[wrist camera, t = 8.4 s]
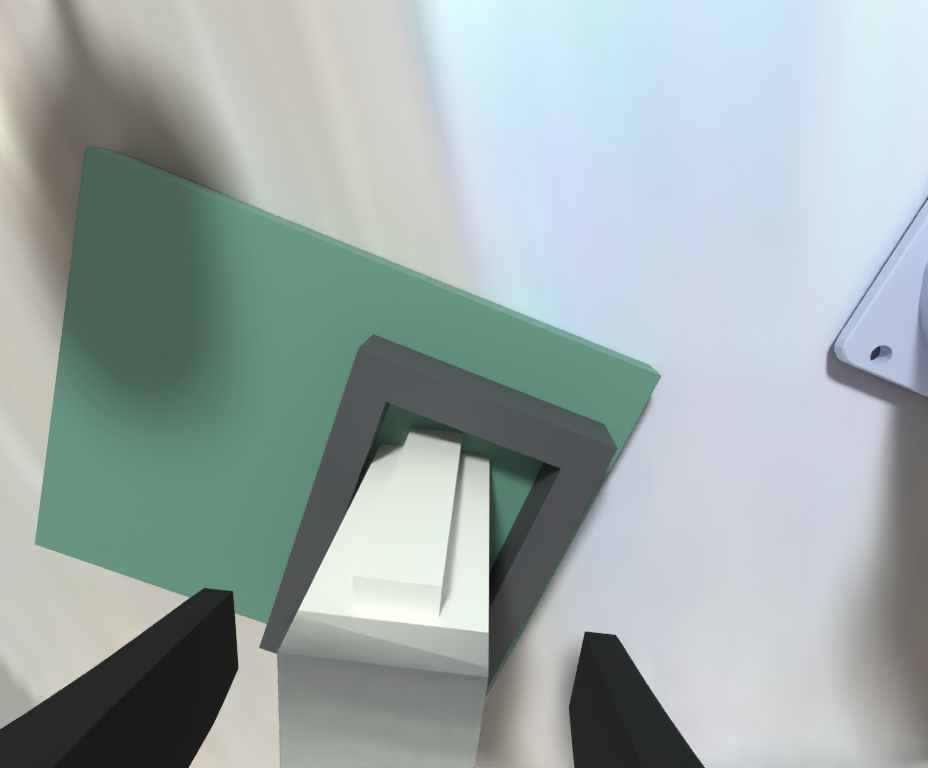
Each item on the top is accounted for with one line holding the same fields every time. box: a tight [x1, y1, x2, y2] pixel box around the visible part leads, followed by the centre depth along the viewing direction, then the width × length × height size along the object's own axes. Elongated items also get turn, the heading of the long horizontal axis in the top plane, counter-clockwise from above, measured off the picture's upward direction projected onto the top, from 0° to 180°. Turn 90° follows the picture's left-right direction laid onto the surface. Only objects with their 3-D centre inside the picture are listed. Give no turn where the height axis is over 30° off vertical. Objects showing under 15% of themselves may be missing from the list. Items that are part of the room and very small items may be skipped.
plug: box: [277, 427, 489, 768], centre depth 11 cm, size 5×3×7 cm, turn 174°
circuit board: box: [35, 146, 661, 698], centre depth 14 cm, size 15×12×2 cm
